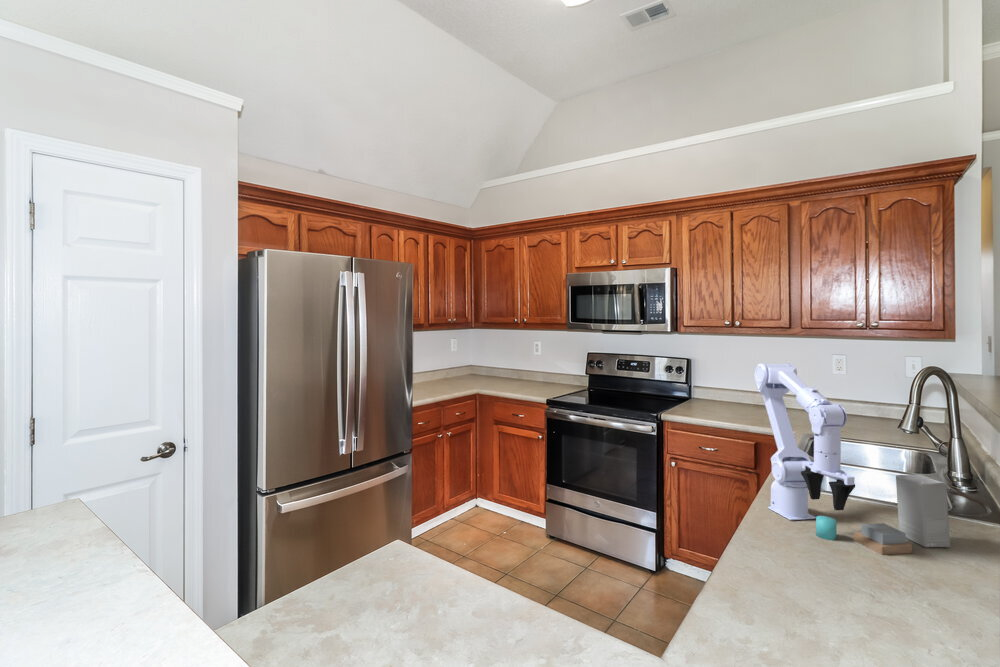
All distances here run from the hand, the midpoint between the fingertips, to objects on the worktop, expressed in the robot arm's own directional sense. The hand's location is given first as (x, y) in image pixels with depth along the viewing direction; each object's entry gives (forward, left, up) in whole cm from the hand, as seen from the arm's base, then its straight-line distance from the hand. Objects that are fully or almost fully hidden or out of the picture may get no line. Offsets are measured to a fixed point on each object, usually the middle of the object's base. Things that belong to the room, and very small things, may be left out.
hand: (826, 504), depth 126 cm
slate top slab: (+7, +9, -6) cm, 13 cm away
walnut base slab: (+7, +9, -9) cm, 14 cm away
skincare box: (+6, +22, -8) cm, 24 cm away
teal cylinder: (0, 0, -8) cm, 8 cm away
